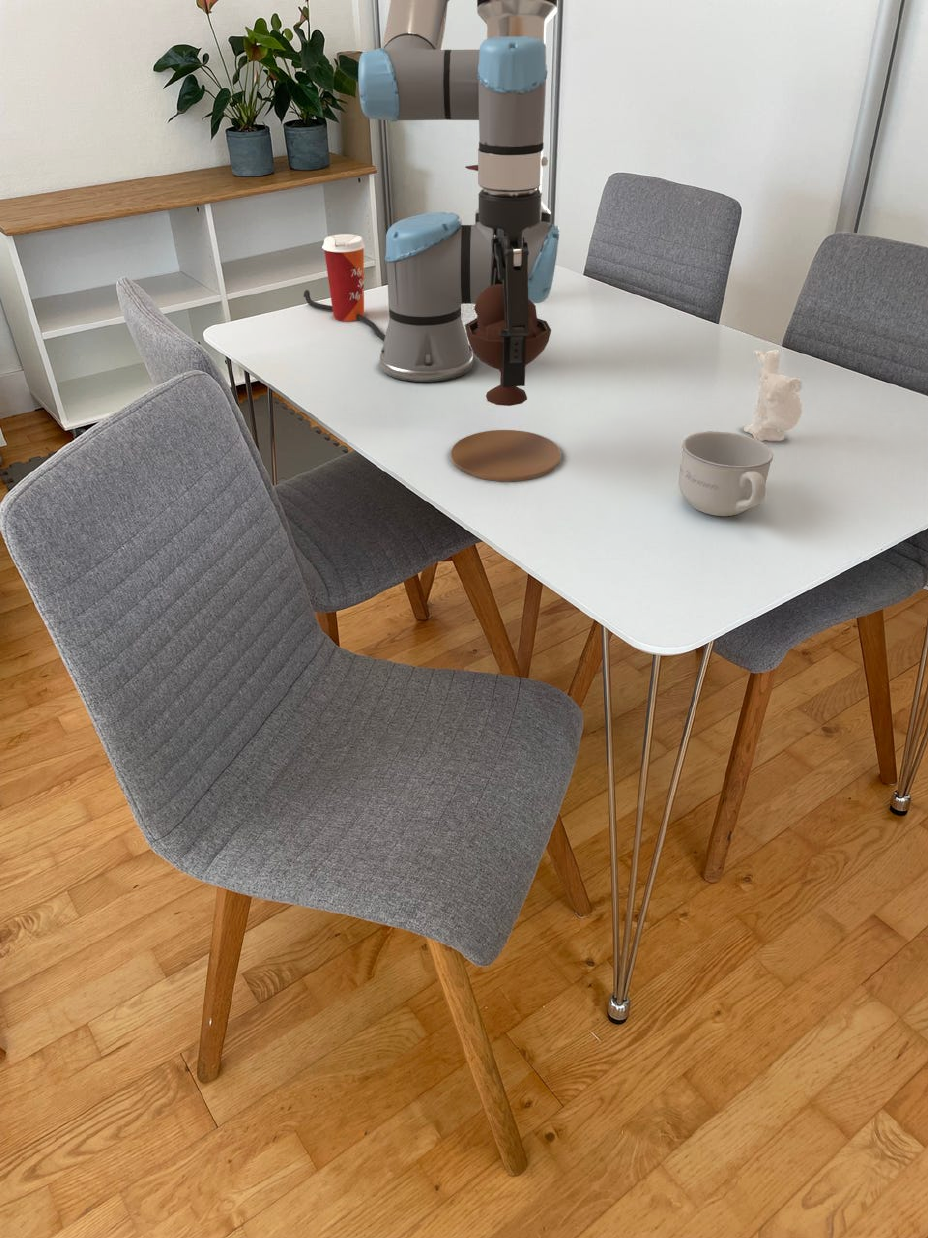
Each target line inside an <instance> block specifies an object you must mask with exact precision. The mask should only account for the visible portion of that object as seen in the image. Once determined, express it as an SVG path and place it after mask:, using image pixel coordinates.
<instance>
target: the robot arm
mask: <svg viewBox="0 0 928 1238" xmlns="http://www.w3.org/2000/svg"><path fill="white" fill-rule="evenodd" d="M449 1H450V0H390V2H389V8H388V14H387V18H386V19H387V20H386V25H385V30H384V36H383V41H382V47H378V48H377V49H370V50H365V51H363V52H362V53H361V55H360V56H359V60H358V76H357V77H358V94H359V95H358V96H359V103H360V108H361V111H362V113H363V115H364V116H365V117H367V118H368V119H370V120H380V121H381V120H382V121H391V122H397V121H441V120H442V121H445V120H447V121H478V136H479V137H478V138H479V139H478V140H479V141H478V148H477V165H478V171H477V184H478V186H479V187H480V188H481V190H480V191H479V193H478V207H477V209H476V210H475V212H474V213H475V214H474V216H475V218H474V224H462V219H461V217H460V215H459V214H457V213H455V212H445V211H436V212H428V213H421V214H417V215H413V216H408V217H406V218H403V219H400V220H398V221H396V222H395V223H393V224H392V225H391V226H389V228H388V230H387V232H386V235H385V255H384V260H385V262H386V277H387V294H388V295H387V299H388V324H387V327H386V331H385V333H383V332H382V331H381V330H380V329H379V328H378V327H379V326H377V325H376V324H375V322H374V321H372V320H371V319H369V318H368V317H365V315H364V316H362V315H360V314H358V315H357V316H356V318H357V319H358V320H357V321H360V322H362V323H364V324H366V325H367V326H368V327H370V328H371V330H372V331H373V332H374V334H375V335H376V336H377V337H378V339H380V340H382V341H383V344H382V347H381V349H380V354H379V360H380V361H379V362H380V363H379V364H380V369H381V371H382V372H383V373H384V374H386V375H387V376H389V377H391V378H393V379H397V380H401V381H407V382H412V383H413V382H414V383H434V382H442V381H443V382H444V381H448V380H452V379H457V378H458V377H462V376H464V375H465V374H468V373H469V372H470V371H471V370H472V368H473V366H474V353H473V351H472V348H471V346H470V344H469V341H468V338H467V334H466V329H465V325H464V323H463V319H462V318H463V317H462V305H466V304H467V305H469V304H470V305H475V304H476V300H477V298H478V297H479V295H480V293H482V292H483V291H484V290H485V289H486V288H487V287H489V286H493V285H496V284H503V301H504V318H505V330H500V333H499V335H500V337H503V383H502V385H503V387H508V386H517V387H525V385H526V365H525V356H526V336H528V335H529V332H530V328H529V309H528V299H529V300H530V301H531V302H532V303H533V304H534V305H536V304H541V303H544V302H545V301H546V300H548V298H549V296H550V294H551V290H552V285H553V281H554V275H555V268H556V263H557V255H558V249H559V239H560V233H561V228H560V226H559V225H557V224H555V223H552V222H551V221H552V220H551V219H552V211H550V209H549V208H548V207H547V206H546V205H545V204H544V202H543V193H542V188H543V167H546V166H548V165H549V159H548V157H546V156H544V144H545V143H544V135H545V134H544V132H545V115H546V114H545V113H546V95H547V94H546V93H547V92H546V91H547V79H548V72H549V71H548V64H547V46H546V35H547V33H546V32H547V24H548V23H549V22H550V21H551V20H552V18H553V17H554V16H555V15H556V14H557V10H558V9H557V7H558V6H557V5H558V0H476V13H477V15H478V16H479V17H480V19H481V20H482V21H483V22H484V23H485V24H486V38H485V39H484V40H483V41H482V42H481V43H480V46H479V49H444V42H445V41H444V40H445V32H446V22H447V12H448V11H447V10H448V4H449ZM303 297H304V299H305V301H306V303H307V304H308V305H309V306H310V307H313V308H316V309H320V310H324V311H329V312H333V308H332V305H330V304H323V303H319V302H316V301H313V300H312V298H311V292H310V291H309V290H308V289H305V290H304V292H303ZM514 324H521V325H518V326H513V325H514Z"/></svg>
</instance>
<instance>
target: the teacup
mask: <svg viewBox="0 0 928 1238" xmlns="http://www.w3.org/2000/svg"><path fill="white" fill-rule="evenodd" d="M681 447H682V449H681V457H680V462H679V470H678V488H679V491H680V493H681V495H682V497H684V499H685V500H686V501H687V502H689V504H690V505H691V506H692V507H693V508H694V509H696V510H698V511H699V512H701V513H704V514H707V515H709V516H710V515H711V516H715V517H731V516H736V515H739V514H741V513H743V512H745V511H746V510H747V511H748V510H749V509H751V508H754V507H757V506H759V505H760V504H761V503H762V501H763V500H764V498H765V495H766V484H767V480H768V476H769V472H770V467H771V463H772V461H773V460H774V453H773V449H771V448H770V446H768V445H767V444H766V443H764V441H759V440H756V439H754V437H751V436H748V435H745V434H741V433H736V432H729V431H713V430H712V431H710V430H708V431H701V432H697V433H696V432H695V433H692V434H690V435H688V436H687V437H685V439H683V441H682V446H681Z"/></svg>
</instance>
